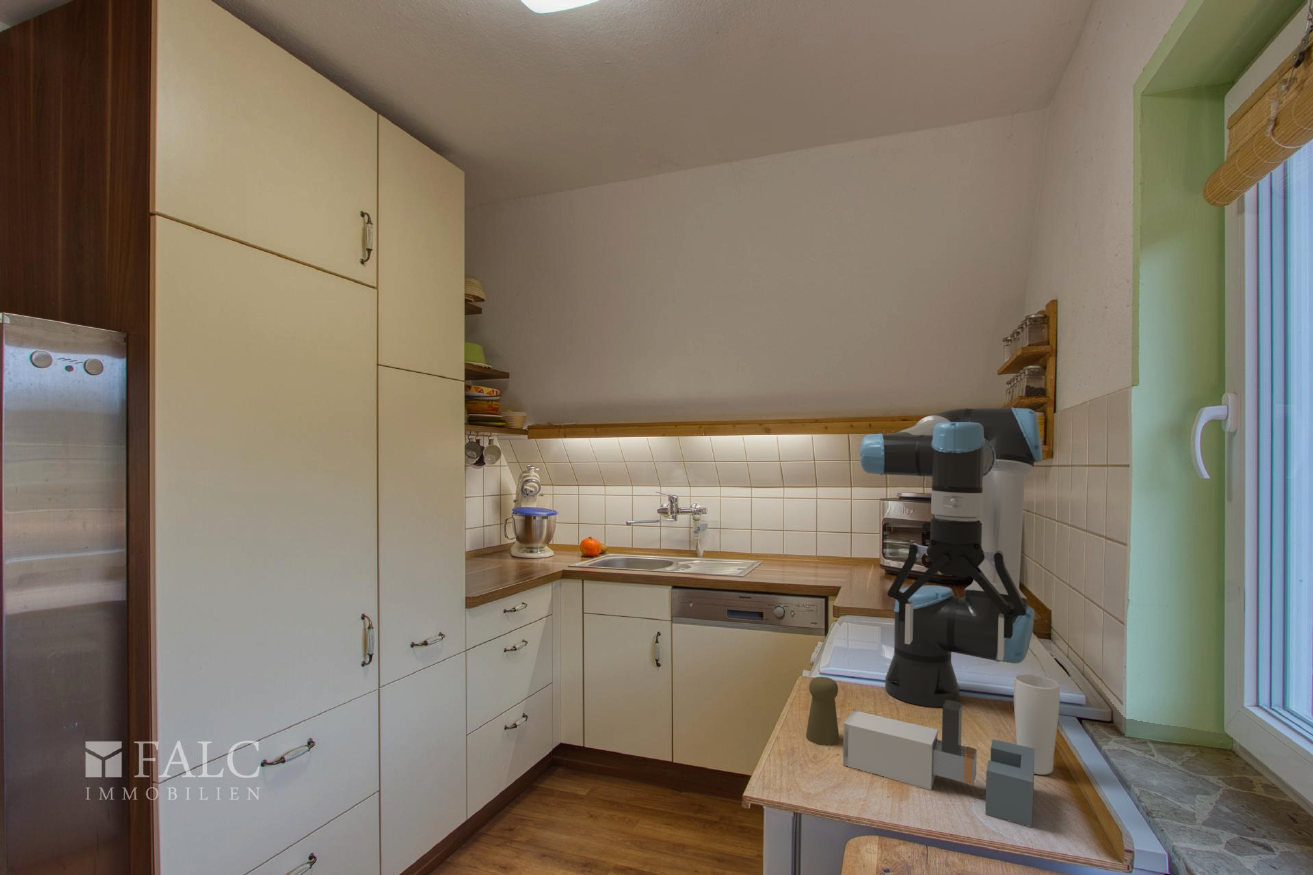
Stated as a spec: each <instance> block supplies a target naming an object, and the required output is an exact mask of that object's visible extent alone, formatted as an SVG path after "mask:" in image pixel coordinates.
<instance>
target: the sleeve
mask: <svg viewBox="0 0 1313 875" xmlns="http://www.w3.org/2000/svg"><path fill="white" fill-rule="evenodd" d="M938 732H939V730H938V729H936V728H934V727H933V728H931V727H928V726H923V725H920V724H916V723H910V722H906V721H901V720H899V719H894V718H893V719H892V718H888V717H885V716H879V715H875V714H871V713H867V712H863V711H858V710H854V709H853V710H852V712H850V714H849V715H848V717H847V718H846V720H845V721H844V722H843V739H842V740H843V743H842V744H843V746H842V748H843V749H842V750H843V751H842V766H843V765H844V767H846V766H849V767H848V768H850V767H852V768H851V769H853V768H858V769H860V770H859V771H861V770H863V771H862V772H864V771H869V772H872V773H875V774H878V775H877V776H879V775H881V776H880V777H882V776H884V777H883V778H886V777H887V778H886V779H891V780H894V781H897V782H901V783H904V784H908V785H912V786H914V787H919V788H922V789H926V790H931V791H932V788H933V785H934V783H935V779H936V776H937V775H934V774H932V753H933V746H934V743H935V740H939V733H938ZM872 773H871V774H872ZM875 774H874V775H875Z"/></svg>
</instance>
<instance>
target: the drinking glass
mask: <svg viewBox="0 0 1313 875" xmlns="http://www.w3.org/2000/svg"><path fill="white" fill-rule="evenodd" d="M1060 693H1061V692H1060V684H1059V683H1058V682H1057V681H1056V680H1054V679H1052V678H1050V677H1046V676H1043V675H1038V674H1032V673H1031V674H1030V673H1021V674H1016V675H1015V676H1014V683H1013V707H1014V708H1013V710H1014V711H1013V712H1014V724H1015V726H1014V727H1015V735H1016V736H1015V738H1016V740H1015V741H1016V745H1021V746H1025V747H1030V748H1034V749H1035V752H1034V775H1040V776H1042V775H1043V776H1045V775H1050V774H1051V773H1052V772H1053V770H1054V758H1055V757H1054V756H1055V750H1056V749H1055V748H1056V742H1057V741H1056V738H1057V731H1058V724H1059V723H1058V722H1059V716H1060V715H1059V714H1060V701H1061V700H1060V697H1061V695H1060Z"/></svg>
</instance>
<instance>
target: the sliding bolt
mask: <svg viewBox="0 0 1313 875" xmlns="http://www.w3.org/2000/svg"><path fill="white" fill-rule="evenodd" d="M962 711H963V702H960V701H958V702H956V701H951V700H946V701H945V703H944V706H943V707H942V717H941V718H942V721H941V722H942V723H941V740H940V739H938V740H935V743H934V746H933V753H932V774H934V775H936V776H938V777H942V778H946V779H950V780H952V781H958V782H960V783H964V784H966V785H969V786H974V785H975V782H976V776H977V758H978V756H977V755H978V754H977V753H978V752H977V751H978V750H977V748H975V747H971V746H965V745H962V723H963V722H962V718H963V717H962V716H963V712H962Z"/></svg>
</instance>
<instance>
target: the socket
mask: <svg viewBox="0 0 1313 875" xmlns="http://www.w3.org/2000/svg"><path fill="white" fill-rule="evenodd" d="M1034 752H1035V749H1034V748H1030V747H1025V746H1021V745H1017V743H1011V742H1007V741H1003V740H999V739H994V738H992V740H991V746H990V760H987V767H986V772H985V773H986V774H985V776H986V778H985V779H986V780H985V815H986V816H990V817H993V818H997V819H1000V820H1003V819H1004V820H1003V821H1007V820H1010V821H1013V822H1012V823H1014V822H1017V823H1020V824H1019V825H1021V824H1024V825H1029V826H1032V827H1033V811H1034V808H1033V807H1034V790H1035V788H1034V787H1035V786H1034V784H1035V774H1034ZM1010 821H1009V822H1010ZM1017 823H1016V824H1017ZM1024 825H1023V826H1024Z"/></svg>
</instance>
